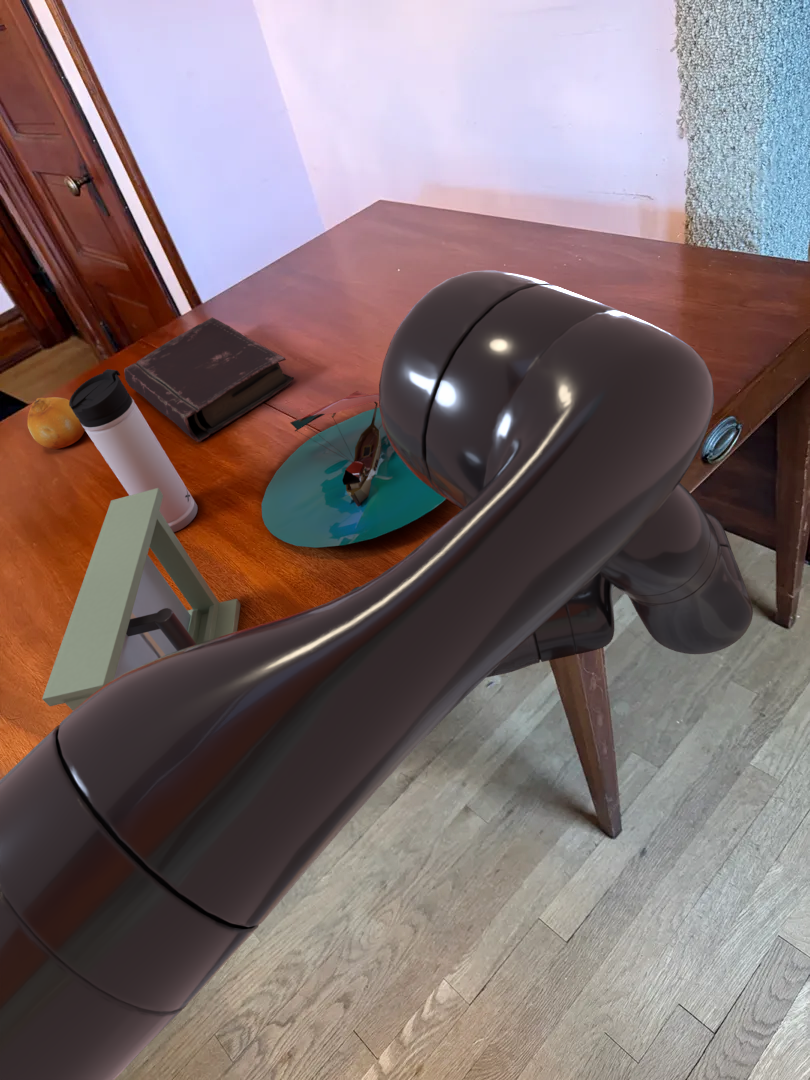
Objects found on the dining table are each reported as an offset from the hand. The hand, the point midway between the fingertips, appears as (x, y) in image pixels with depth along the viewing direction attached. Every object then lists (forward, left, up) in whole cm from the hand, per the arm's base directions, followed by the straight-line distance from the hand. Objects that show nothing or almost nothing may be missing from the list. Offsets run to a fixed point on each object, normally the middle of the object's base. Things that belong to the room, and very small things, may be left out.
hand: (257, 678), depth 59 cm
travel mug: (+25, +33, -10) cm, 42 cm away
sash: (-1, +9, -8) cm, 12 cm away
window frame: (+2, +13, -10) cm, 16 cm away
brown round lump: (+39, +66, -10) cm, 77 cm away
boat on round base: (+35, +9, -10) cm, 37 cm away
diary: (+53, +46, -10) cm, 71 cm away
